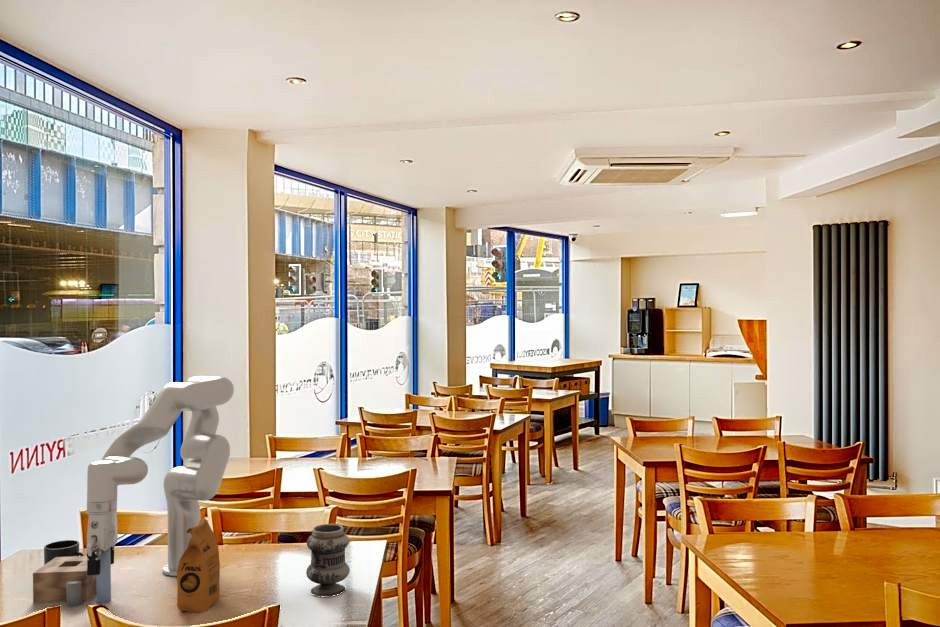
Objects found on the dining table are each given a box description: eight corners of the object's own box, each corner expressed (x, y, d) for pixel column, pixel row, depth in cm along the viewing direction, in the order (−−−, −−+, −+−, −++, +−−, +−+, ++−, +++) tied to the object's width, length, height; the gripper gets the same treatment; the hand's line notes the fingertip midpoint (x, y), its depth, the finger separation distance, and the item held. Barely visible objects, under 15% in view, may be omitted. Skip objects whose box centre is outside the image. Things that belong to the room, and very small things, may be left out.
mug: (74, 580, 228) (74, 549, 228) (37, 579, 229) (36, 548, 229) (93, 569, 237) (93, 540, 237) (57, 568, 239) (57, 539, 239)
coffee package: (170, 613, 202) (169, 529, 202) (190, 596, 214) (189, 517, 214) (207, 613, 201) (206, 529, 201) (225, 596, 213) (224, 517, 213)
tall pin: (112, 597, 213) (112, 547, 213) (108, 602, 209) (107, 551, 209) (99, 598, 213) (99, 547, 213) (94, 603, 209) (93, 551, 209)
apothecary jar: (336, 601, 209) (335, 535, 209) (297, 596, 213) (297, 531, 213) (357, 586, 220) (356, 523, 220) (321, 581, 224) (320, 520, 224)
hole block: (105, 582, 226) (105, 555, 226) (86, 600, 212) (86, 571, 212) (56, 584, 224) (55, 557, 224) (33, 602, 210) (32, 573, 210)
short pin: (83, 601, 210) (83, 579, 210) (78, 606, 207) (77, 584, 207) (70, 602, 210) (69, 580, 210) (64, 607, 207) (64, 585, 207)
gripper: (104, 513, 203) (102, 578, 202) (127, 499, 220) (126, 559, 219) (74, 513, 202) (73, 579, 201) (100, 499, 219) (99, 560, 219)
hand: (100, 569), depth 210 cm, fingers open, 9 cm apart
